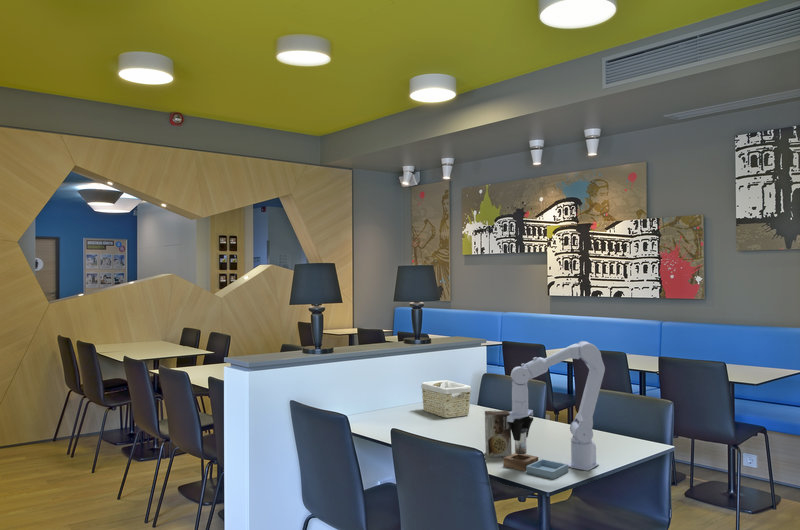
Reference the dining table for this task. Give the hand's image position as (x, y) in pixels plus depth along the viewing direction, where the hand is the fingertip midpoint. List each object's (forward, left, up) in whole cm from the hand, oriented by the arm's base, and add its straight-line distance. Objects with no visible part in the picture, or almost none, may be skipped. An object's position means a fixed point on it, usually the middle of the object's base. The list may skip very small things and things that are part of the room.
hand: (520, 438), depth 224 cm
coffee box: (-7, -14, -10) cm, 18 cm away
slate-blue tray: (+1, +11, -10) cm, 15 cm away
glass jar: (0, 0, -5) cm, 5 cm away
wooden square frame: (0, 0, -10) cm, 10 cm away
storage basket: (-53, -74, -10) cm, 92 cm away
